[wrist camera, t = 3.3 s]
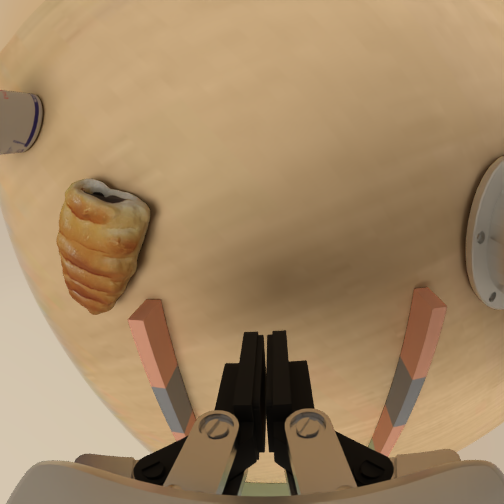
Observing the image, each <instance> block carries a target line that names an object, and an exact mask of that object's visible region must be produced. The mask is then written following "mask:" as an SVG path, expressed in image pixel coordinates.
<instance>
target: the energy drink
mask: <svg viewBox="0 0 504 504" xmlns="http://www.w3.org/2000/svg"><path fill="white" fill-rule="evenodd" d="M42 118H43V109H42V104H41V101H40V99H39V97H38V96H36V95H34V94H29V93H22V92H14V91H5V90H0V154H10V153H21V152H24V151H26V150H27V149H28V148H29V147H30V146H31V145H32V144H33V143H34V141H35V140H36V138H37V136H38V134H39V131H40V128H41V124H42Z"/></svg>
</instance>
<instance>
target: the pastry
mask: <svg viewBox="0 0 504 504" xmlns="http://www.w3.org/2000/svg"><path fill="white" fill-rule="evenodd" d="M149 220H150V209H149V207H148V206H147V204H146V203H144V202H143V201H142V200H140V199H139V198H138V197H136V196H134V195H132V194H130V193H128V192H122V191H119V190H113V189H110V188H109V187H107V185H106V184H104V183H103V182H101V181H98V180H95V179H83V180H79V181H77V182H74V183H72V184H71V185H70V187H69V188H68V189H67V191H66V192H65V201H64V204H63V206H62V209H61V212H60V219H59V233H58V236H57V246H58V247H59V254H60V256H61V263H62V267H63V276H64V278H65V283H66V285H67V287H68V289H69V293H70V295H71V296H72V298H73V299H75V300H76V301H77V302H78V303H79V304H81V305H82V306H84V307H85V308H87V309H88V311H89V312H90V313H91V314H93V315H97V314H100V313H103V312H107V311H109V310H111V309H112V308H113V307H114V305H115V302H116V301H117V299H118V298H119V297H120V296H121V295H122V294H123V292H124V291H125V288H126V286H127V284H128V281H129V280H130V278H131V276H132V275H133V274H134V273H135V271H136V268H137V258H138V255H139V251H140V249H141V247H142V243H143V241H144V237H145V234H146V231H147V228H148V224H149Z"/></svg>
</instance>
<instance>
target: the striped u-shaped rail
mask: <svg viewBox="0 0 504 504" xmlns="http://www.w3.org/2000/svg"><path fill="white" fill-rule="evenodd" d="M446 309H447V306H446V305H445V304H444V303H443V302H442V301H441V300H440V299H439V298H438V297H437V296H436V295H435V294H434V293H433V292H432V291H431V290H430V289H429V288H428V287H426V288H417V289H414V293H413V299H412V305H411V310H410V315H409V320H408V325H407V330H406V334H405V338H404V343H403V347H402V351H401V355H400V358H399V362H398V366H397V369H396V373H395V376H394V379H393V382H392V386H391V389H390V392H389V395H388V398H387V401H386V404H385V406H384V409H383V412H382V415H381V417H380V420H379V422H378V425H377V427H376V430H375V432H374V435H373V437H372V440H371V442H370V444H369V446H368V448H370V449H372V450H375V451H377V452H379V453H381V454H383V455H385V456H387V457H388V456H389V454H390V452H391V450H392V449H393V447H394V445H395V443H396V441H397V440H398V438H399V436H400V434H401V432H402V430H403V428H404V426H405V424H406V422H407V420H408V418H409V416H410V414H411V411H412V409H413V407H414V405H415V402H416V400H417V398H418V395H419V393H420V391H421V388H422V386H423V383H424V381H425V378H426V375H427V373H428V370H429V367H430V364H431V361H432V358H433V355H434V352H435V349H436V346H437V343H438V339H439V336H440V333H441V329H442V325H443V322H444V318H445V314H446ZM128 322H129V326H130V329H131V332H132V335H133V338H134V341H135V344H136V347H137V350H138V353H139V356H140V358H141V361H142V364H143V366H144V369H145V372H146V374H147V377H148V379H149V382H150V384H151V387H152V389H153V392H154V394H155V396H156V399H157V401H158V403H159V405H160V408H161V410H162V412H163V414H164V416H165V419H166V421H167V423H168V425H169V427H170V429H171V431H172V433H173V435H174V437H175V439H176V441H178V440H180V439H182V438H184V437H186V436H188V435H189V433H190V431H191V429H192V427H193V425H194V423H195V421H196V418H195V416H194V413H193V410H192V407H191V404H190V402H189V399H188V396H187V393H186V390H185V386H184V383H183V380H182V377H181V374H180V371H179V367H178V364H177V361H176V357H175V354H174V350H173V347H172V343H171V339H170V336H169V332H168V328H167V324H166V320H165V316H164V312H163V308H162V303H161V300H149V299H146V300H145V301H144V303H143V304H142V305H141V306H140V307H139V308H138V309H137V310H136V311H135V312H134V313H133V314H132V315H131V317H130V318H129V319H128ZM241 496H290V495H289V490H288V486H287V483H246V482H245V483H244V487H243V490H242V493H241Z"/></svg>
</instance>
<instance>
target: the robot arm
mask: <svg viewBox="0 0 504 504" xmlns="http://www.w3.org/2000/svg"><path fill="white" fill-rule="evenodd" d="M466 266H467V273H468V277H469V281H470V284H471V286H472V288H473V291H474V293H475V294H476V295H477V296H478V298H479V299H480V300H481V301H482V302H483V303H485V304H486V305H487V306H488V307H491V308H493V309H498V310H503V309H504V156H502V157H500V158H498V159H497V160H496V161H495V162H494V163H493V164H492V165H491V166H490V167H489V169H488V170H487V171H486V173H485V174H484V176H483V178H482V180H481V182H480V184H479V186H478V188H477V191H476V194H475V197H474V200H473V203H472V206H471V211H470V216H469V220H468V227H467V234H466ZM266 419H267V431H268V444H269V452H274V459H275V462H276V463H277V464H278V465H280V466H281V467H283V468H284V472H285V476H286V481H287V486H288V490H289V495H290V496H241V493H242V490H243V487H244V483H245V480H246V477H247V473H248V467H250V466H251V465H253V464H254V463H256V461H257V460H259V452H265V431H266ZM6 504H504V474H503V473H502V472H501V470H500V469H499V468H498V467H497V466H496V465H494V464H492V463H491V462H488V461H483V460H464V461H461V459H460V457H459V455H458V454H457V453H456V452H455V451H453V450H450V449H442V450H435V451H429V452H421V453H412V454H402V455H397V456H396V457H392V458H388V457H387V456H385V455H383V454H381V453H379V452H377V451H375V450H372V449H370V448H368V447H366V446H364V445H362V444H360V443H358V442H356V441H354V440H352V439H350V438H348V437H346V436H344V435H342V434H340V433H338V432H336V431H335V430H334V427H333V425H332V423H331V420H330V418H329V417H328V415H326V414H325V413H324V412H322V411H320V410H317V409H314V404H313V397H312V390H311V384H310V377H309V371H308V365H307V361H291V362H289V361H288V348H287V336H286V330H284V331H273V335H267V369H266V365H265V351H264V337H263V335H258V332H244V336H243V343H242V349H241V355H240V362H239V363H226V364H225V366H224V371H223V375H222V380H221V384H220V388H219V393H218V397H217V402H216V406H215V410H214V411H209V412H207V413H204V414H202V415H201V416H200V417H198V419H197V420H196V421H195V423H194V425H193V427H192V429H191V431H190V433H189V435H188V436H186V437H184V438H182V439H180V440H178V441H176V442H174V443H172V444H170V445H168V446H166V447H164V448H162V449H160V450H158V451H156V452H154V453H152V454H150V455H147V456H145V457H143V458H142V459H140V460H135V459H134V458H132V457H116V456H105V455H95V454H84V455H81V456H79V457H78V458H77V459H76V460H75V462H69V461H54V460H52V461H42V462H39V463H37V464H35V465H34V466H32V467H31V468H30V469H29V470H28V471H27V472H26V473H25V475H24V476H23V477H22V479H21V480H20V482H19V483H18V485H17V486H16V488H15V489H14V491H13V493H12V494H11V496H10V498H9V499H8V501H7V503H6Z"/></svg>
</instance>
